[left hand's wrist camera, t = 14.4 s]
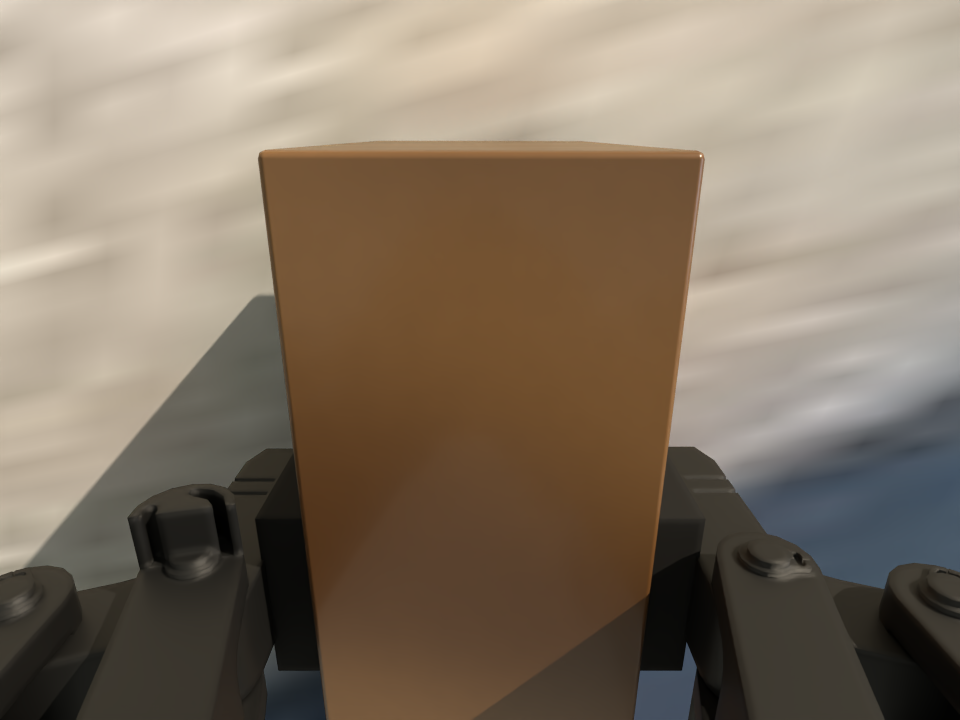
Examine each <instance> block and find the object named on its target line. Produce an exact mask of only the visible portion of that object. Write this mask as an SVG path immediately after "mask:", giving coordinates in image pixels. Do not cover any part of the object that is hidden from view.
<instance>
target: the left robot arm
mask: <svg viewBox="0 0 960 720" xmlns="http://www.w3.org/2000/svg"><path fill="white" fill-rule="evenodd" d="M128 522H129V526H130V530H131V534H132V538H133V542H134V546H135V550H136V554H137V559H138V563H139V567H140V571H139V573H138V576H137V578H135V579H131V580H128V581H124V582H120V583H116V584H111V585H106V586H101V587H97V588H92V589H87V590H83V591H78V592H77V590H76V587H75V584H74V580H73V577H72V575H71V574H70V573H68V572H67V571H66V570H65V569H64V568H59V567H53V566H39V567H30V568H24V569H20V570H16V571H14V572H9V573H7V574H4V575H1V576H0V720H265V712H266V702H267V689H266V682H265V676H264V668H265V665H266V663H267V660H268V658H269V655H270V653H271V650H272V648H273V645H275V651H276V658H277V664H278V671H320V665H319V657H318V649H317V641H316V633H315V624H314V616H313V608H312V600H311V591H310V583H309V575H308V567H307V558H306V550H305V542H304V534H303V525H302V517H301V509H300V501H299V492H298V484H297V476H296V468H295V460H294V451H293V449H266V450H264V451H263V452H261V453H260V454H258V455H257V456H255V457H254V458H252V459H251V460H249V461H248V462H246V464H245V465H244V466H243V468H242V469H241V471H240V472H239V473H238V475H237V476H236V478H235V482H232V483H231V485H230V486H229V488H228V489H227V488H225V487H221V486H217V485H213V484H192V485H187V486H182V487H177V488H172V489H170V490H167V491H165V492H162V493H160V494H157V495H155V496H153V497H151V498H149V499H148V500H146V501H145V502H143V503H142V504H140V505H138V506H137V507H136V508H135V510H134V511H133V512H132V513H131V514H130V515H129V517H128ZM686 641H687V644H688V646H689V649H690V651H691V654H692V656H693V658H694V661H695V663H696V666H697V670H696V676H695V682H694V688H693V694H692V700H691V706H690V712H689V718H688V720H960V572H957V571H954V570H951V569H946V568H944V567H940V566H936V565H927V564H918V563H911V564H905V565H899V566H897V567H896V568H895V569H893V570H892V571H891V572H890V573H889V575H888V579H887V582H886V586H885V589H881V588H876V587H871V586H866V585H862V584H857V583H852V582H847V581H843V580H838V579H835V578H831V577H828V576H824V575H823V574H822V572H821V570H820V568H819V567H818V565H817V564H816V562H815V561H814V560H813V558H812V557H811V556H810V555H809V554H807V553H806V552H805V551H803V550H802V549H801V548H799V547H798V546H797V545H795V544H793V543H790V542H788V541H786V540H784V539H781V538H779V537H777V536H772V535H768V534H767V533H766V532H765V531H764V529H763V528H762V526H761V525H760V524H759V522H758V521H757V519H756V518H755V517H754V515H753V514H752V512H751V511H750V510H749V508H748V507H747V505H746V504H745V503H744V501H743V500H742V498H741V497H740V496H739V494H738V493H735V489H734V487H733V486H732V484H731V483H730V482H729V480H726V476H725V475H724V473H723V472H722V470H721V469H720V468H719V466H718V465H717V463H716V462H715V461H714V460H713V459H711V458H710V457H708V456H707V455H705V454H704V453H702V452H701V451H699V450H698V449H696V448H695V447H668V453H667V461H666V469H665V477H664V484H663V492H662V500H661V508H660V516H659V524H658V532H657V540H656V548H655V556H654V563H653V571H652V579H651V587H650V595H649V603H648V611H647V619H646V627H645V634H644V642H643V650H642V658H641V666H640V671H682V667H683V660H684V654H685V648H686Z"/></svg>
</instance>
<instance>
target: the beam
mask: <svg viewBox="0 0 960 720" xmlns="http://www.w3.org/2000/svg"><path fill="white" fill-rule="evenodd" d="M704 161H705V159H704V155H703V153H701V152H699V151H693V150H681V149H668V148H656V147H644V146H632V145H620V144H608V143H595V142H583V141H373V142H360V143H347V144H335V145H322V146H309V147H297V148H284V149H271V150H264V151H262V152H260V153H259V157H258V163H259V171H260V179H261V188H262V196H263V204H264V212H265V221H266V229H267V237H268V245H269V254H270V262H271V270H272V278H273V286H274V295H275V303H276V311H277V319H278V328H279V336H280V344H281V352H282V361H283V369H284V377H285V385H286V394H287V402H288V410H289V418H290V427H291V435H292V443H293V451H294V460H295V468H296V476H297V484H298V492H299V501H300V509H301V517H302V525H303V534H304V542H305V550H306V558H307V567H308V575H309V583H310V591H311V600H312V608H313V616H314V624H315V633H316V641H317V649H318V657H319V665H320V674H321V682H322V690H323V698H324V707H325V715H326V720H634V713H635V706H636V698H637V690H638V682H639V674H640V666H641V658H642V650H643V642H644V634H645V627H646V619H647V611H648V603H649V595H650V587H651V579H652V571H653V563H654V556H655V548H656V540H657V532H658V524H659V516H660V508H661V500H662V492H663V484H664V477H665V469H666V461H667V453H668V445H669V437H670V429H671V421H672V413H673V406H674V398H675V390H676V382H677V374H678V366H679V358H680V350H681V342H682V334H683V327H684V319H685V311H686V303H687V295H688V287H689V279H690V271H691V263H692V255H693V248H694V240H695V232H696V224H697V216H698V208H699V200H700V192H701V184H702V177H703V169H704Z"/></svg>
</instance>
